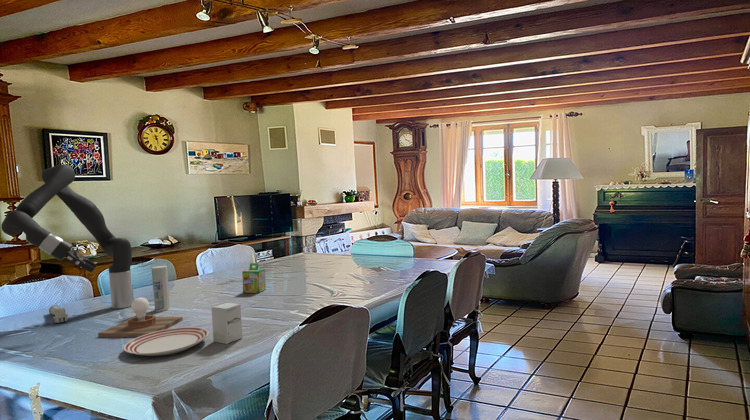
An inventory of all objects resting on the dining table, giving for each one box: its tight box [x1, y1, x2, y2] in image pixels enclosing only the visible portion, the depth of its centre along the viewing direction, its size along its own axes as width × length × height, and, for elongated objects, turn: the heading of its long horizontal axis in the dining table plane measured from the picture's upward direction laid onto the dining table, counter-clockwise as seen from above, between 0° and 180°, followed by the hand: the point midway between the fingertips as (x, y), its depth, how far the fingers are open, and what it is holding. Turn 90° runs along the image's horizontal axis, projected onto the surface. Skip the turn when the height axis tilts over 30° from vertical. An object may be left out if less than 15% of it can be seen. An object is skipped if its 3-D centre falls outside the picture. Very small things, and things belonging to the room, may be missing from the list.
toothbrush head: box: [48, 304, 69, 324], centre depth 218 cm, size 5×7×25 cm
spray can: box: [151, 265, 171, 312], centre depth 224 cm, size 6×6×20 cm
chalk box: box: [241, 262, 267, 294], centre depth 254 cm, size 9×9×15 cm
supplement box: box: [211, 302, 243, 345], centre depth 173 cm, size 7×7×13 cm
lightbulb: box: [130, 297, 150, 321], centre depth 194 cm, size 6×6×11 cm
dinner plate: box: [123, 326, 210, 357], centre depth 169 cm, size 28×27×3 cm
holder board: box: [97, 314, 183, 338], centre depth 194 cm, size 22×22×4 cm
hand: (94, 268), depth 198 cm, fingers open, 8 cm apart
